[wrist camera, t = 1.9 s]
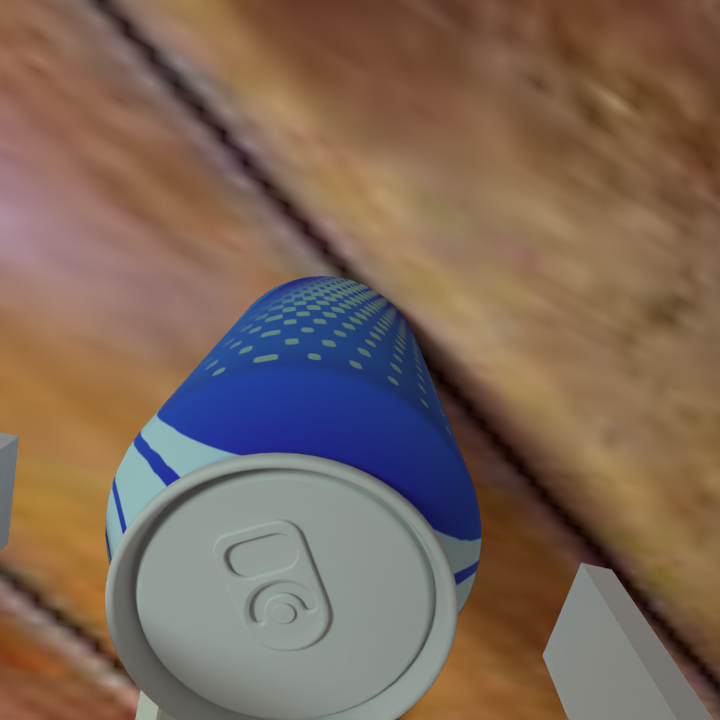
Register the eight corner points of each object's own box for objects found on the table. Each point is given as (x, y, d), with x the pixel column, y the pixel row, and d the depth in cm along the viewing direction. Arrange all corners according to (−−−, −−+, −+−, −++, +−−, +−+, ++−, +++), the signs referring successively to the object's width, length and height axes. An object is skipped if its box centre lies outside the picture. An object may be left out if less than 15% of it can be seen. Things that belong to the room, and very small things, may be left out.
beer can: (448, 315, 25) (591, 510, 10) (374, 473, 28) (398, 831, 12) (269, 241, 24) (125, 332, 9) (207, 411, 27) (6, 716, 11)
